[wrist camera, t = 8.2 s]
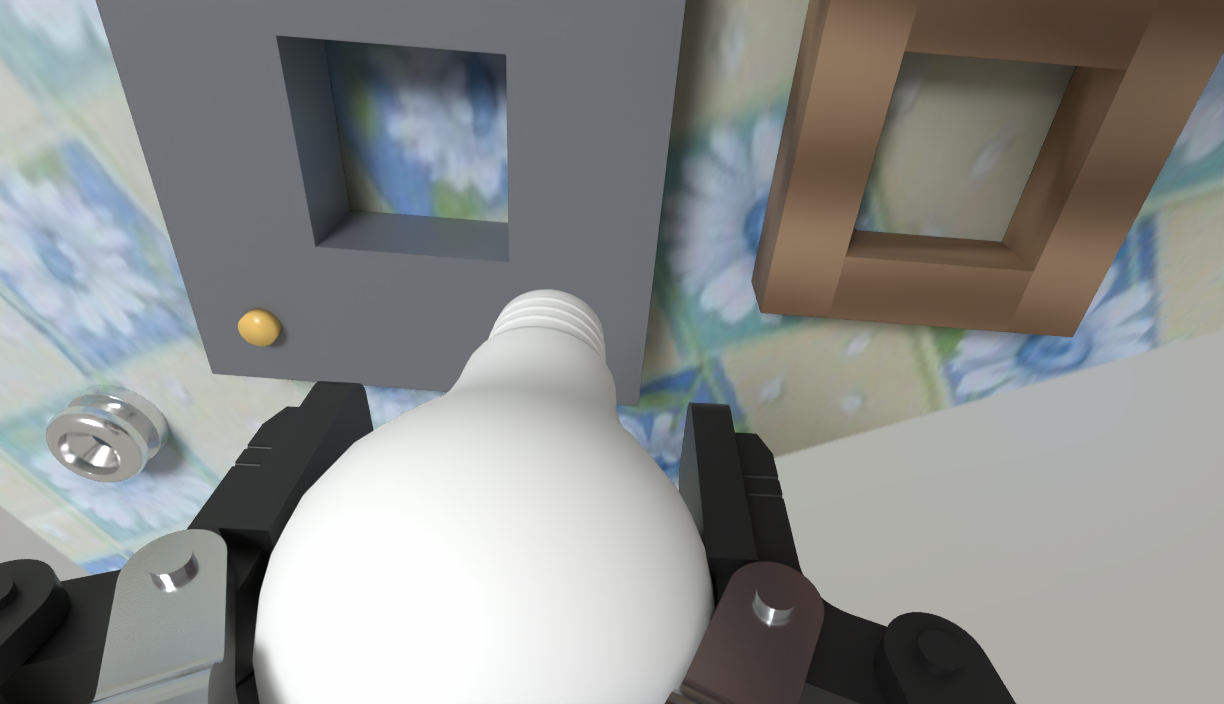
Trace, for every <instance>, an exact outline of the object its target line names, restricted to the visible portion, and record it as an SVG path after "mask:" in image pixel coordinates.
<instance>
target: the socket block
mask: <svg viewBox="0 0 1224 704" xmlns="http://www.w3.org/2000/svg"><path fill="white" fill-rule="evenodd" d="M685 2H686V0H96V3H97V6H98V10H99V13H100V16H101V19H102V22H103V25H104V29H105V32H106V35H107V38H108V41H109V45H110V48H111V51H112V54H113V57H114V61H115V64H116V67H117V70H118V73H119V77H120V80H121V83H122V86H123V89H124V93H125V96H126V99H127V102H128V105H129V108H130V112H131V115H132V118H133V121H134V124H135V128H136V131H137V134H138V137H139V140H140V144H141V147H142V150H143V153H144V156H145V160H146V163H147V166H148V169H149V172H150V176H151V179H152V182H153V185H154V188H155V191H156V195H157V198H158V201H159V204H160V207H161V211H162V214H163V217H164V220H165V223H166V227H167V230H168V233H169V236H170V239H171V243H172V246H173V249H174V252H175V255H176V258H177V262H178V265H179V268H180V271H181V274H182V278H183V281H184V284H185V287H186V290H187V294H188V297H189V300H190V303H191V306H192V310H193V313H194V316H195V319H196V322H197V326H198V329H199V332H200V335H201V338H202V341H203V345H204V348H205V351H206V354H207V357H208V361H209V364H210V367H211V370H212V373H213V374H223V375H236V376H249V377H262V378H275V379H288V380H301V381H314V382H319V381H330V382H348V383H360V384H362V385H366V386H379V387H392V388H405V389H418V390H431V391H444V392H449V391H450V390H451V389H452V387H453V386H454V385H455V383H456V382H457V381H458V380H459V378H460V376H461V374H462V372H463V370H464V368H465V365H466V364H467V362H468V360H469V359H470V357H471V356H472V354H473V353H474V352H475V351H476V350H477V349H478V348H479V347H480V346H481V345H482V344H483V343H484V342H485V341H487V340H488V339H489V336H490V333H491V331H492V329H493V327H494V324H495V322H496V320H497V319H498V317H499V315H500V314H501V312H502V310H503V309H504V307H505V306H506V305H507V304H508V303H509V302H510V301H512V300H513V299H515V298H516V297H518V296H519V295H522V294H524V293H527V292H530V291H535V290H546V289H551V290H557V291H563V292H566V293H568V294H571V295H574V296H575V297H577V298H579V299H581V300H582V301H584V302H585V303H586V304H587V305H588V306H590V307H591V309H592V310H593V311H594V312H595V313H596V315H597V317H598V318H599V320H600V322H601V325H602V329H603V333H604V343H605V359H606V365H607V367H608V368H609V370H610V372H611V374H612V377H613V381H614V384H615V391H616V405H625V406H638V403H639V394H640V386H641V377H642V369H643V360H644V352H645V343H646V335H647V326H648V318H649V309H650V301H651V292H652V284H653V275H654V266H655V258H656V249H657V241H658V232H659V224H660V215H661V207H662V198H663V190H664V181H665V173H666V164H667V155H668V147H669V138H670V130H671V121H672V113H673V104H674V96H675V87H676V79H677V70H678V62H679V53H680V45H681V36H682V27H683V19H684V10H685ZM324 39H326V40H338V41H350V42H362V43H374V44H386V45H399V46H411V47H423V48H435V49H447V50H459V51H471V52H483V53H495V54H506V79H507V149H508V218H509V223H502V222H489V221H477V220H464V219H452V218H439V217H427V216H414V215H402V214H389V213H377V212H364V211H352V210H350V207H349V200H348V194H347V187H346V181H345V174H344V167H343V161H342V154H341V147H340V141H339V134H338V128H337V121H336V114H335V108H334V101H333V94H332V88H331V81H330V74H329V68H328V61H327V55H326V48H325V41H324Z"/></svg>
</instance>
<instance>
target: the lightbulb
mask: <svg viewBox="0 0 1224 704" xmlns="http://www.w3.org/2000/svg"><path fill="white" fill-rule="evenodd" d="M715 611H716V608H715V599H714V591H713V584H712V580H711V576H710V571H709V567H708V562H707V558H706V550H705V547H704V545H703V542H702V540H701V537H700V535H699V532H698V530H697V527H696V525H695V522H694V520H693V517H692V515H691V513H690V511H689V509H688V507H687V505H686V504H685V502H684V500H683V498H682V496H681V494H680V493H679V491H678V489H677V488H676V486H675V485H674V484H673V483H672V481H671V480H670V479H669V478H668V477H667V475H666V474H665V473H664V472H663V470H662V469H661V468H660V467H659V466H658V464H657V463H656V462H655V461H654V459H653V458H652V457H651V456H650V455H649V453H648V452H647V451H646V450H645V449H644V448H643V447H642V446H641V445H640V443H639V442H638V441H637V440H636V439H635V438H634V437H633V436H632V435H631V434H630V433H629V432H628V431H627V430H626V429H625V428H624V427H623V426H622V424H621V423H620V420H619V416H618V412H617V407H616V391H615V384H614V381H613V377H612V374H611V372H610V370H609V368H608V367H607V365H606V359H605V343H604V333H603V329H602V325H601V322H600V320H599V318H598V317H597V315H596V313H595V312H594V311H593V310H592V309H591V307H590V306H588V305H587V304H586V303H585V302H584V301H582V300H581V299H579V298H577V297H575V296H574V295H571V294H568V293H566V292H563V291H557V290H551V289H546V290H535V291H530V292H527V293H524V294H522V295H519V296H518V297H516V298H515V299H513V300H512V301H510V302H509V303H508V304H507V305H506V306H505V307H504V309H503V310H502V312H501V314H500V315H499V317H498V319H497V320H496V322H495V324H494V327H493V329H492V331H491V333H490V336H489V339H488V340H487V341H485V342H484V343H483V344H482V345H481V346H480V347H479V348H478V349H477V350H476V351H475V352H474V353H473V354H472V356H471V357H470V359H469V360H468V362H467V364H466V365H465V368H464V370H463V372H462V374H461V376H460V378H459V380H458V381H457V382H456V383H455V385H454V386H453V387H452V389H451V390H450V391H449V392H447V393H446V394H445V395H443V396H440V397H438V398H435V399H433V400H430V401H428V402H425V403H423V404H420V405H418V406H416V407H415V408H413V409H411V410H409V411H407V412H406V413H404V414H402V415H400V416H398V417H396V418H395V419H393V420H391V421H389V422H387V423H385V424H384V425H382V426H380V427H379V428H377V429H376V430H374V431H372V432H371V433H369V434H367V435H366V436H364V437H363V438H361V439H359V440H358V441H356V442H355V443H353V445H352V446H351V447H350V448H349V449H348V450H347V451H346V452H345V453H344V454H343V455H342V456H341V457H340V458H339V459H338V460H337V461H336V462H335V463H334V464H333V465H332V466H331V467H330V468H329V469H328V470H327V471H326V472H325V473H324V474H323V475H322V476H321V477H320V478H319V479H318V480H317V481H316V482H315V484H314V485H313V486H312V487H311V488H310V489H309V490H308V491H307V492H306V493H305V494H304V495H303V496H302V498H301V500H300V502H299V503H298V505H297V507H296V509H295V511H294V512H293V514H292V516H291V518H290V519H289V521H288V523H287V525H286V527H285V528H284V530H283V532H282V534H281V536H280V538H279V540H278V542H277V544H276V546H275V548H274V550H273V552H272V553H271V556H270V560H269V563H268V567H267V570H266V574H265V577H264V581H263V584H262V588H261V591H260V596H259V604H258V611H257V618H256V628H255V638H254V649H253V659H252V662H253V668H254V674H255V680H256V685H257V691H258V697H259V703H260V704H665V702H666V700H667V699H668V697H669V695H670V694H671V692H672V691H673V690H674V689H678V688H679V687H680V685H681V684H682V682H683V680H684V678H685V675H686V673H687V671H688V669H689V667H690V665H691V662H692V660H693V658H694V656H695V654H696V652H697V649H698V647H699V645H700V643H701V641H702V639H703V637H704V634H705V632H706V630H707V628H708V626H709V624H710V621H711V619H712V617H713V615H714V613H715Z"/></svg>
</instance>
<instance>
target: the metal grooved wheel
mask: <svg viewBox="0 0 1224 704" xmlns="http://www.w3.org/2000/svg"><path fill="white" fill-rule="evenodd" d="M168 437H169V428H168V424H167V422H166V420H165V418H164V416H163V415H162V413H161V412H160V411H159V410H158V409H157V407H156V406H154V405H153V404H152V403H151V402H150V401H148V400H147V399H146V398H144V397H143V396H141V395H139V394H137V393H135V392H133V391H131V390H128V389H125V388H122V387H118V386H113V385H97V386H92V387H90V388H87V389H86V390H84V391H83V392H82V393H81V394H80V395H78V396H77V397H76V398H75V399H74V400H73V401H72V402H71V403H70V404H69V406H68V408H66V409H64V410H62V411H60V412H59V413H58V414H57V415H55V416H54V417H53V418H52V419H51V421H50V422H49V424H48V426H47V429H46V441H47V445H48V447H49V449H50V451H51V452H52V454H53V455H54V457H55V458H56V459H57V460H58V461H59V462H60V463H61V464H62V465H64V466H65V467H66V468H68V469H69V470H71V471H72V472H74V473H76V474H78V475H80V476H82V477H85V478H88V479H91V480H94V481H99V482H109V483H112V482H121V481H125V480H128V479H131V478H133V477H134V476H136V475H137V474H139V473H140V472H141V471H142V469H143V468H144V467H145V466H146V465H147V463H148V460H149V459H151V458H152V457H154V456H155V455H156V454H157V453H158V451H159V450H160V449H161V448H162V447H163V446H164V445H165V443H166V442H167V440H168Z"/></svg>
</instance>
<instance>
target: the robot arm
mask: <svg viewBox="0 0 1224 704" xmlns="http://www.w3.org/2000/svg"><path fill="white" fill-rule="evenodd" d="M372 431H373V426H372V421H371V415H370V410H369V405H368V400H367V395H366V391H365V388H364V386H363V385H362V384H360V383H348V382H330V381H319V382H317V383H316V384H315V385H314V386H313V388H312V389H311V391H310V392H309V394H308V395H307V396H306V398H305V399H304V401H303V402H302V404H301V405H300V407H288V406H287V407H286V408H284V409H283V410H282V411H280V412H279V413H277V414H276V415H275V416H273V417H272V418H270V419H269V420H268V421H266V422H265V423H264V424H262V426H261V427H260V429H259V430H258V431H257V433H256V434H255V436H254V437H253V438H252V440H251V441H250V442H249V444H248V448H247V449H244V451H243V452H242V454H241V455H240V456H239V458H238V459H237V460H236V462H235V463H236V464H235V467H234V466H232V467H231V469H230V470H229V472H228V473H227V474H226V476H225V477H224V478H223V480H222V481H221V483H220V484H219V485H218V487H217V488H216V489H215V491H214V492H213V494H212V495H211V496H210V498H209V499H208V501H207V502H206V503H205V505H204V506H203V507H202V509H201V510H200V512H199V513H198V514H197V516H196V517H195V519H194V520H193V521H192V523H191V524H190V525H189V527H188V528H187V530H183V531H178V532H174V533H171V534H168V535H165V536H163V537H160V538H158V539H156V540H154V541H152V542H151V543H149V544H147V545H146V546H144V547H143V548H141V549H140V550H139V551H138V552H136V553H135V554H134V555H133V556H132V557H131V558H130V559H129V560H128V561H127V563H126V564H125V565H124V566H123V568H122V569H120V570H116V571H112V572H106V573H101V574H96V575H91V576H86V577H81V578H76V579H71V580H66V581H61V582H60V580H59V579H58V577H57V576H56V574H55V572H54V571H53V569H52V568H51V567H50V566H49V565H48V564H46V563H44V562H42V561H39V560H32V559H21V560H13V561H8V562H4V563H0V704H260V703H259V697H258V691H257V685H256V680H255V674H254V668H253V662H252V659H253V649H254V638H255V628H256V618H257V611H258V604H259V596H260V591H261V588H262V584H263V581H264V577H265V574H266V570H267V567H268V563H269V560H270V556H271V553H272V552H273V550H274V548H275V546H276V544H277V542H278V540H279V538H280V536H281V534H282V532H283V530H284V528H285V527H286V525H287V523H288V521H289V519H290V518H291V516H292V514H293V512H294V511H295V509H296V507H297V505H298V503H299V502H300V500H301V498H302V496H303V495H304V494H305V493H306V492H307V491H308V490H309V489H310V488H311V487H312V486H313V485H314V484H315V482H316V481H317V480H318V479H319V478H320V477H321V476H322V475H323V474H324V473H325V472H326V471H327V470H328V469H329V468H330V467H331V466H332V465H333V464H334V463H335V462H336V461H337V460H338V459H339V458H340V457H341V456H342V455H343V454H344V453H345V452H346V451H347V450H348V449H349V448H350V447H351V446H352V445H353V443H355V442H356V441H358V440H359V439H361V438H363V437H364V436H366V435H367V434H369V433H371V432H372ZM679 493H680V494H681V496H682V498H683V500H684V502H685V504H686V505H687V507H688V509H689V511H690V513H691V515H692V517H693V520H694V522H695V525H696V527H697V530H698V532H699V535H700V537H701V540H702V542H703V545H704V547H705V550H706V558H707V562H708V567H709V571H710V576H711V580H712V584H713V591H714V599H715V608H716V611H715V613H714V615H713V617H712V619H711V621H710V624H709V626H708V628H707V630H706V632H705V634H704V637H703V639H702V641H701V643H700V645H699V647H698V649H697V652H696V654H695V656H694V658H693V660H692V662H691V665H690V667H689V669H688V671H687V673H686V675H685V678H684V680H683V682H682V684H681V685H680V687H679V688H678V689H674V690H673V691H672V692H671V694H670V695H669V697H668V699H667V700H666V702H665V704H1016V703H1015V701H1014V700H1013V698H1012V696H1011V695H1010V693H1009V691H1008V690H1007V688H1006V686H1005V685H1004V683H1003V681H1002V680H1001V678H1000V676H999V675H998V673H997V672H996V670H995V668H994V667H993V665H992V663H991V662H990V660H989V658H988V657H987V655H986V654H985V652H984V651H983V649H982V648H981V646H980V645H979V644H978V643H977V642H976V641H975V640H974V638H973V637H972V636H970V635H969V634H968V633H967V632H966V631H965V630H963V629H962V628H960V627H959V626H958V625H956V624H954V623H952V622H951V621H949V620H947V619H944V618H942V617H940V616H936V615H933V614H929V613H923V612H912V613H906V614H903V615H900V616H898V617H896V618H895V619H893V620H892V622H891V623H890V624H889V625H888V627H886V626H883V625H880V624H878V623H875V622H872V621H869V620H866V619H863V618H860V617H857V616H854V615H851V614H849V613H846V612H844V611H842V610H840V609H838V608H836V607H834V606H832V605H831V604H829V603H828V602H826V601H825V600H824V599H823V598H821V596H820V594H819V592H818V591H817V589H816V588H815V586H814V585H813V584H812V583H811V582H810V581H809V580H808V579H807V578H806V577H804V575H803V574H802V571H801V568H800V565H799V561H798V556H797V553H796V548H795V544H794V540H793V536H792V532H791V527H790V523H789V519H788V515H787V511H786V507H785V503H784V499H782V490H781V486H780V482H779V480H778V474H777V470H776V466H775V461H774V457H773V454H772V452H771V451H770V450H769V449H768V447H767V446H766V445H765V444H764V442H763V441H762V440H761V439H760V437H759V436H758V435H757V434H751V433H735V432H734V426H733V420H732V415H731V410H730V406H729V405H725V404H707V403H689V405H688V409H687V416H686V423H685V431H684V438H683V446H682V453H681V460H680V470H679Z"/></svg>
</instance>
